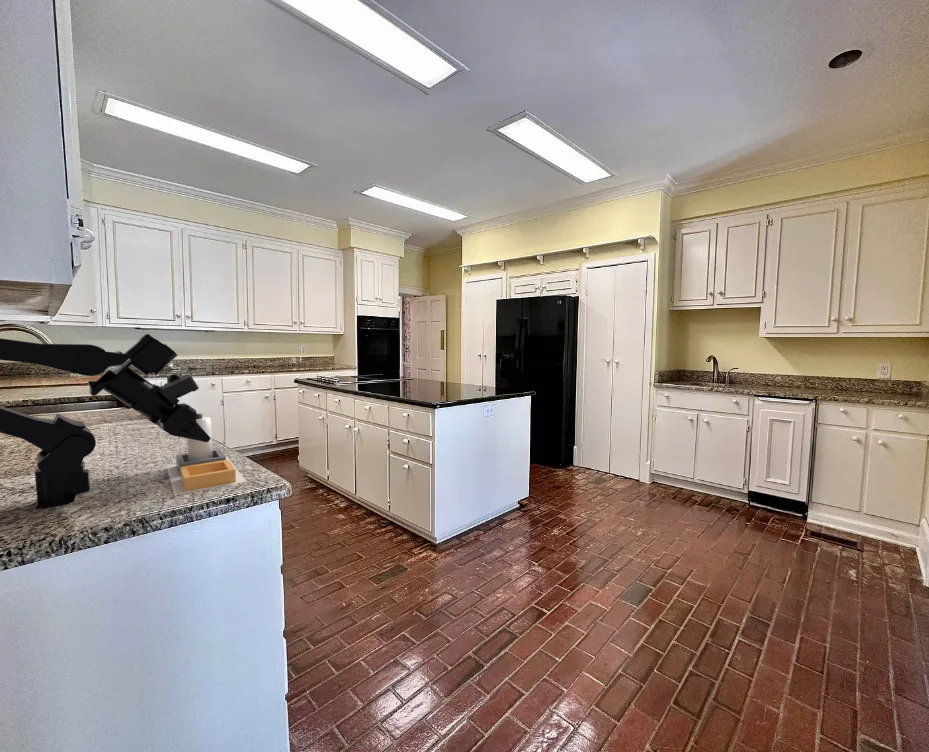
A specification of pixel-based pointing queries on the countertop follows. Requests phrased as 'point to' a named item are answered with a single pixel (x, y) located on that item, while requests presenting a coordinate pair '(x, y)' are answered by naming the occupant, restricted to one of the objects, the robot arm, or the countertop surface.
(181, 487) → the dock
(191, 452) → the white bottle
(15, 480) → the countertop surface
